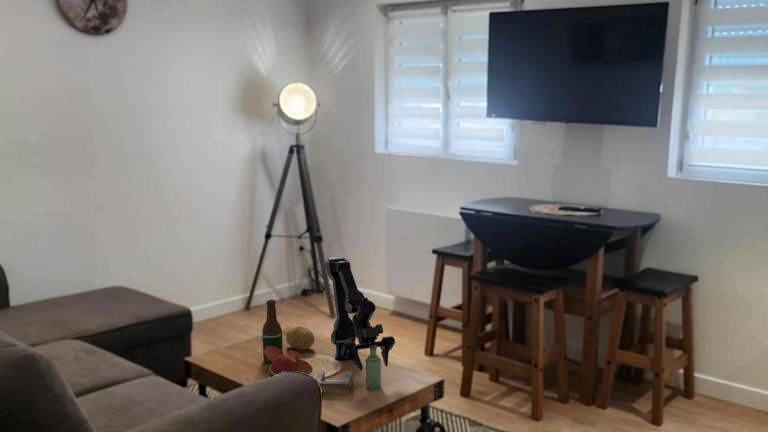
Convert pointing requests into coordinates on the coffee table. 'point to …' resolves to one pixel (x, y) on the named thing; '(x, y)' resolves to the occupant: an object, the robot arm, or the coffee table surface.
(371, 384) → the bottle
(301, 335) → the potato
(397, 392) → the coffee table surface
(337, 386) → the square wooden tray
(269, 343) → the beer bottle
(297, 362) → the brown red lumpy cluster
